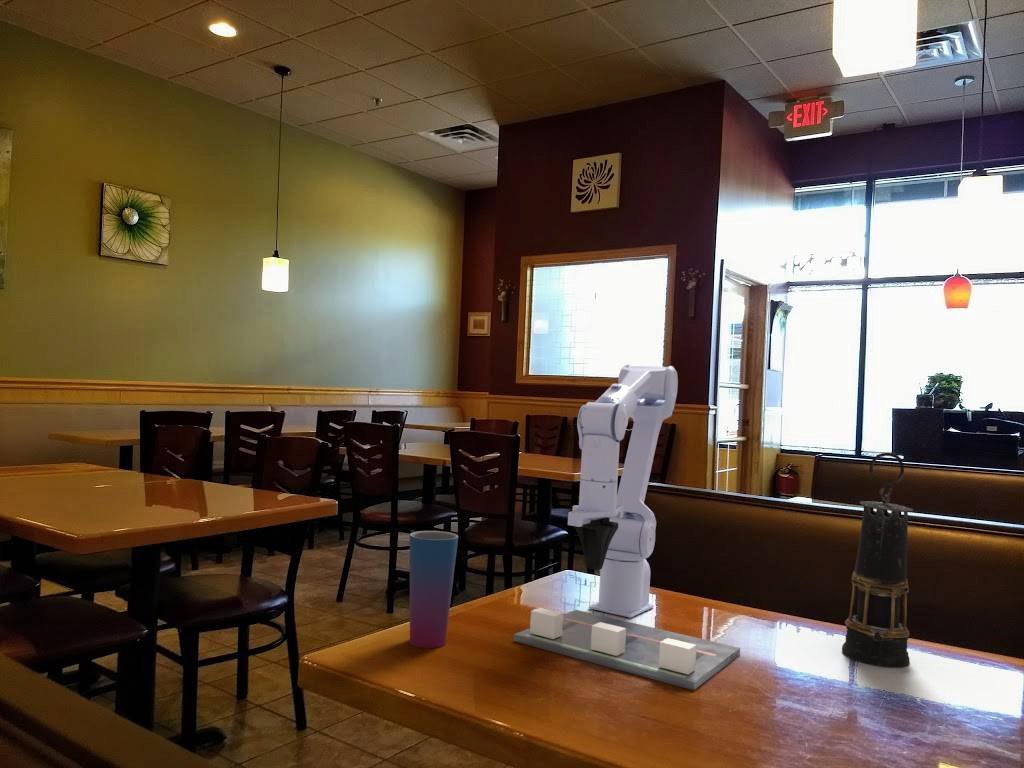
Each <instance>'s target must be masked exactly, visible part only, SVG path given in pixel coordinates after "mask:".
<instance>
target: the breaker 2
mask: <svg viewBox="0 0 1024 768" xmlns="http://www.w3.org/2000/svg"><path fill="white" fill-rule="evenodd" d="M695 664H696V645H695V644H691V643H687V642H682V641H678V640H674V639H670V638H667V639H665V640H663V641H661V642H660V655H659V667H661V668H665V669H669V670H673V671H676V672H680V673H684V674H688V675H689V674H690V673H691V672H693V671H694V670H695Z"/></svg>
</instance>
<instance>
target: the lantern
mask: <svg viewBox="0 0 1024 768" xmlns="http://www.w3.org/2000/svg"><path fill="white" fill-rule="evenodd" d="M882 457H892V458H895V459H896V461H898V464H899V470H900V471H899V475H898V477H897V479H896V480H894V481H893V482H891V483H887V484H886V483H885V484H884V485H883V486H882V487H880V489H879V495H880V499H881V501H875V500H869V501H868V500H866V501H865V500H861V501H859V504H860V505H862V506H863V513H862V519H861V528H860V536H859V542H858V549H857V555H856V559H855V560H856V561H855V566H854V570H853V572H852V575H851V584H852V592H851V599H850V607H849V614H848V617H847V618H846V620H845V621H844V624H845V625H846V627H845V628H846V634H845V640H844V643H843V644H842V645H841V646H842V647H841V652H842V654H843V655H844V656H845V657H847V658H849V659H851V660H853V661H857V662H860V663H862V664H864V665H865V664H866V665H870V666H876V667H881V668H891V669H895V668H904V667H908V666H909V665H910V663H911V662H910V660H911V659H910V656H909V652H908V640H909V636H910V631H909V629H908V627H907V618H908V616H907V615H908V613H907V611H908V609H907V607H908V606H907V605H908V604H907V603H908V602H907V599H908V598H907V597H908V596H907V595H908V593H909V592H910V589H909V582H908V578H907V574H908V573H907V568H908V565H907V563H908V562H907V561H908V529H909V528H908V526H909V525H908V523H909V522H908V521H909V520H908V518H909V512H914V509H913V508H910V507H907V506H905V505H900V504H897V503H890V502H891V497H890V496H891V494H892V492H893V489H892V487H893V488H894V487H895V486H896V485H898V484H899V483H900V482H901V480H902V479H903V477H904V474H905V473H904V472H905V466H904V463H903V460H902V458H901V456H899V455H898V454H896V453H893V452H882V453H879V454H877V455H876V456H875V457H873V458H872V460H871V462H870V464H869V469H868V470H869V471H868V473H869V474H870V475H874V466H875V463H876V461H877V460H879V458H882ZM886 489H887V492H885V490H886ZM874 509H875V510H874ZM889 511H890V512H889ZM902 513H903V514H902ZM857 588H858V597H857V614H854V610H855V609H854V607H855V602H856V601H855V600H856V599H855V598H856V592H857V591H856V590H857ZM901 596H902V600H903V601H902V602H903V603H902V623H901V622H900V621H899V620H900V605H901Z"/></svg>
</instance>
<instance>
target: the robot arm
mask: <svg viewBox="0 0 1024 768" xmlns="http://www.w3.org/2000/svg"><path fill="white" fill-rule="evenodd" d="M678 377H679V376H678V371H677V370H676V369H675V367H674V366H673V365H669V366H648V365H647V366H643V365H642V366H641V365H630V364H625V365H623V366H622V368H621V369H620V372H619V375H618V383H612V384H611V385H610V387H608V389H606V390H605V392H604V393H602V394H601V396H599V397H598V399H596V400H595V402H591V401H588V402H586V404H583V405H582V406H581V407H580V408H579V411H578V416H577V420H576V421H577V422H576V425H577V426H576V427H577V432H578V439H579V441H578V446H579V449H580V450H581V459H580V460H581V461H580V481H579V495H578V496H579V499H578V505H575V504H574V505H572V511H568V514H567V526H572V527H574V530H576V532H577V535H578V536H579V540H580V543H581V547H582V551H583V556H584V563H585V567H586V569H590V570H594V571H599V586H598V587H599V589H598V601H597V602H594V603H591V604H589V605H588V609H591V610H594V611H595V610H596V611H598V612H599V611H600V612H603V613H604V612H605V613H607V614H608V613H609V614H612V615H617V616H621V617H626V618H633V617H635V616H637V615H640V614H642V613H644V612H646V611H649V610H650V609H652V608H654V604H653V603H650V590H651V589H650V586H651V585H650V584H651V567H650V564H649V562H648V561H647V559H648V558H650V556H651V555H652V554H653V551H654V548H655V543H656V527H657V519H656V517H655V513H654V512H653V511H652V510H651V509H650V508H649V507H648V505H646V503H645V500H646V495H647V490H648V485H649V481H650V476H651V472H652V466H653V463H654V457H655V452H656V448H657V443H658V438H659V435H660V431H661V427H662V424H663V421H664V420H666V419H668V418H670V417H672V416H673V411H674V409H675V405H676V400H677V397H678V396H677V395H678V385H679V379H678ZM630 418H631V419H633V420H632V421H633V426H632V430H631V434H630V437H629V442H628V448H627V450H626V456H625V459H624V464H623V468H622V473H621V478H620V481H619V485H618V479H619V478H618V477H619V458H620V442H621V441H622V440H624V437H625V434H626V430H627V427H628V424H629V419H630Z"/></svg>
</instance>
